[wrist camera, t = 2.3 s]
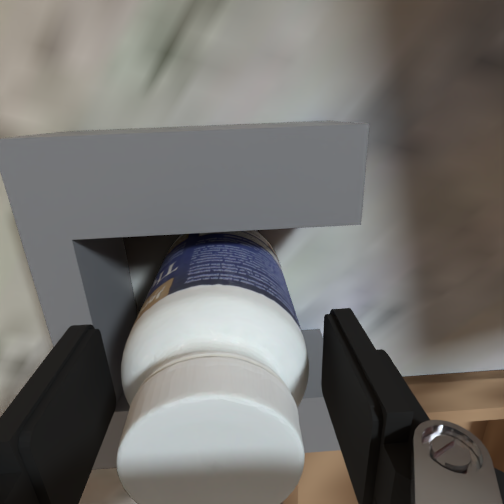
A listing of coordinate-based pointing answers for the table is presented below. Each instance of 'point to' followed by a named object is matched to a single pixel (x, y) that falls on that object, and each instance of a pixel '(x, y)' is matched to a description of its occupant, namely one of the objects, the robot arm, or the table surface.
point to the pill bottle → (214, 378)
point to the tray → (437, 408)
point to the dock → (171, 218)
